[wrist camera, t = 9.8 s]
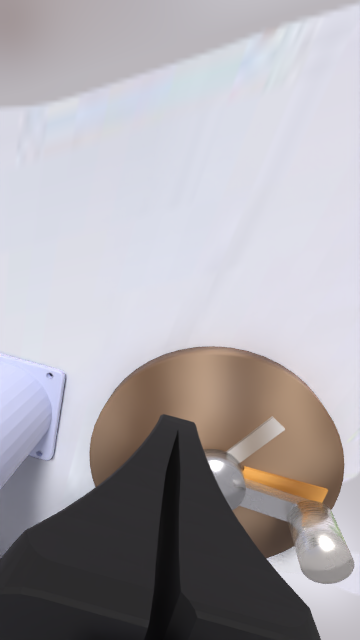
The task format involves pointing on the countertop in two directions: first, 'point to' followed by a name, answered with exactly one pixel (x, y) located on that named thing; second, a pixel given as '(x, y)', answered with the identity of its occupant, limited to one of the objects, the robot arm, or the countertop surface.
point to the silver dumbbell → (288, 519)
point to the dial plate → (230, 426)
